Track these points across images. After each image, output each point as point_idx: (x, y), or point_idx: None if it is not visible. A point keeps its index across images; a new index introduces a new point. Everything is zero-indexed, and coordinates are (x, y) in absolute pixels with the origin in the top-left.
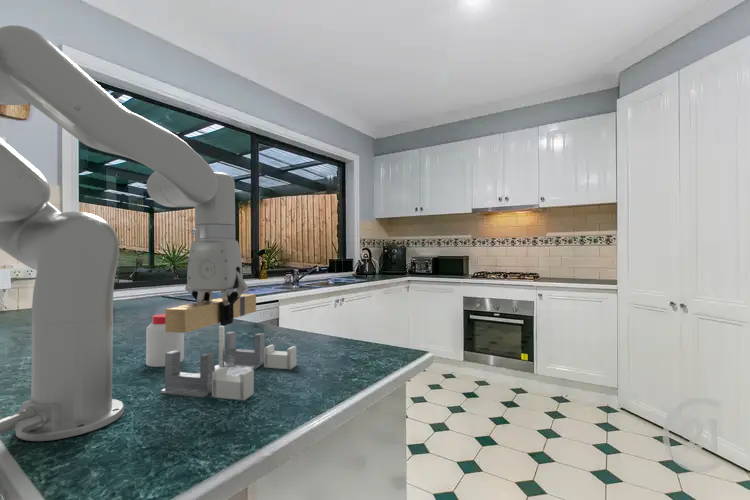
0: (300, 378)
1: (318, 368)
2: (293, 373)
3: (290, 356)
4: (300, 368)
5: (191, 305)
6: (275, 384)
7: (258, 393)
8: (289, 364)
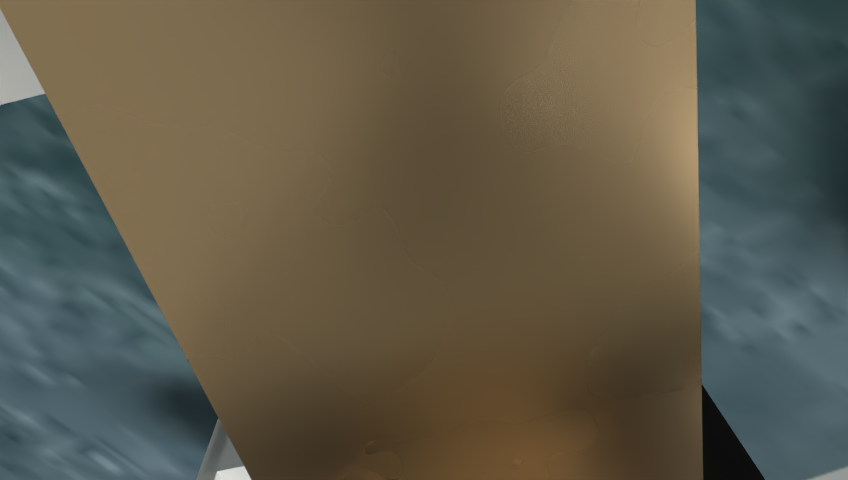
0: (61, 351)
1: (119, 474)
2: (155, 386)
3: (200, 471)
4: (190, 444)
5: (452, 111)
6: (81, 241)
7: (25, 104)
8: (217, 435)
